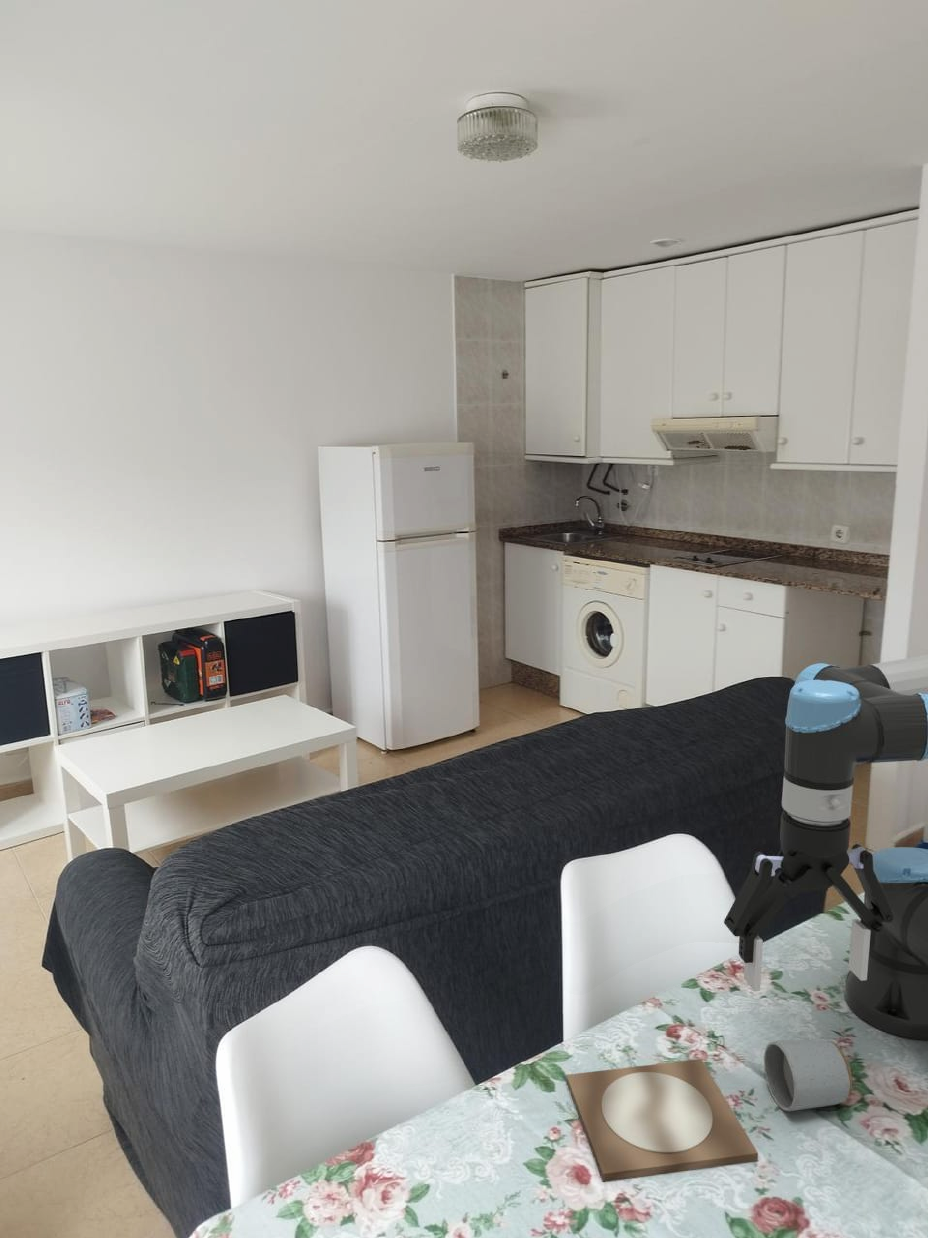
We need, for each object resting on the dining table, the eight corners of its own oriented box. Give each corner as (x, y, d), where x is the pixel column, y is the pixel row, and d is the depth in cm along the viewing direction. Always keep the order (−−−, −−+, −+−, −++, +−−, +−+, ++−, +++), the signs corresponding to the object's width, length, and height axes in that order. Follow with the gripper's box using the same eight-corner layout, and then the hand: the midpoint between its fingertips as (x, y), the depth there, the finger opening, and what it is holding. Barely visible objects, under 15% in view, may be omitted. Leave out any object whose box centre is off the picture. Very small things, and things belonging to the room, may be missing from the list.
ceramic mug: (855, 1116, 107) (858, 1058, 106) (792, 1126, 106) (795, 1068, 104) (806, 1059, 117) (808, 1006, 116) (748, 1068, 116) (750, 1014, 114)
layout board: (701, 1065, 116) (701, 1056, 116) (757, 1161, 101) (758, 1151, 100) (566, 1081, 114) (566, 1072, 113) (603, 1182, 98) (603, 1171, 98)
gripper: (727, 834, 98) (719, 1008, 102) (935, 819, 102) (920, 987, 106) (700, 808, 106) (694, 971, 110) (895, 794, 109) (882, 953, 113)
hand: (805, 979), depth 108 cm, fingers open, 13 cm apart
